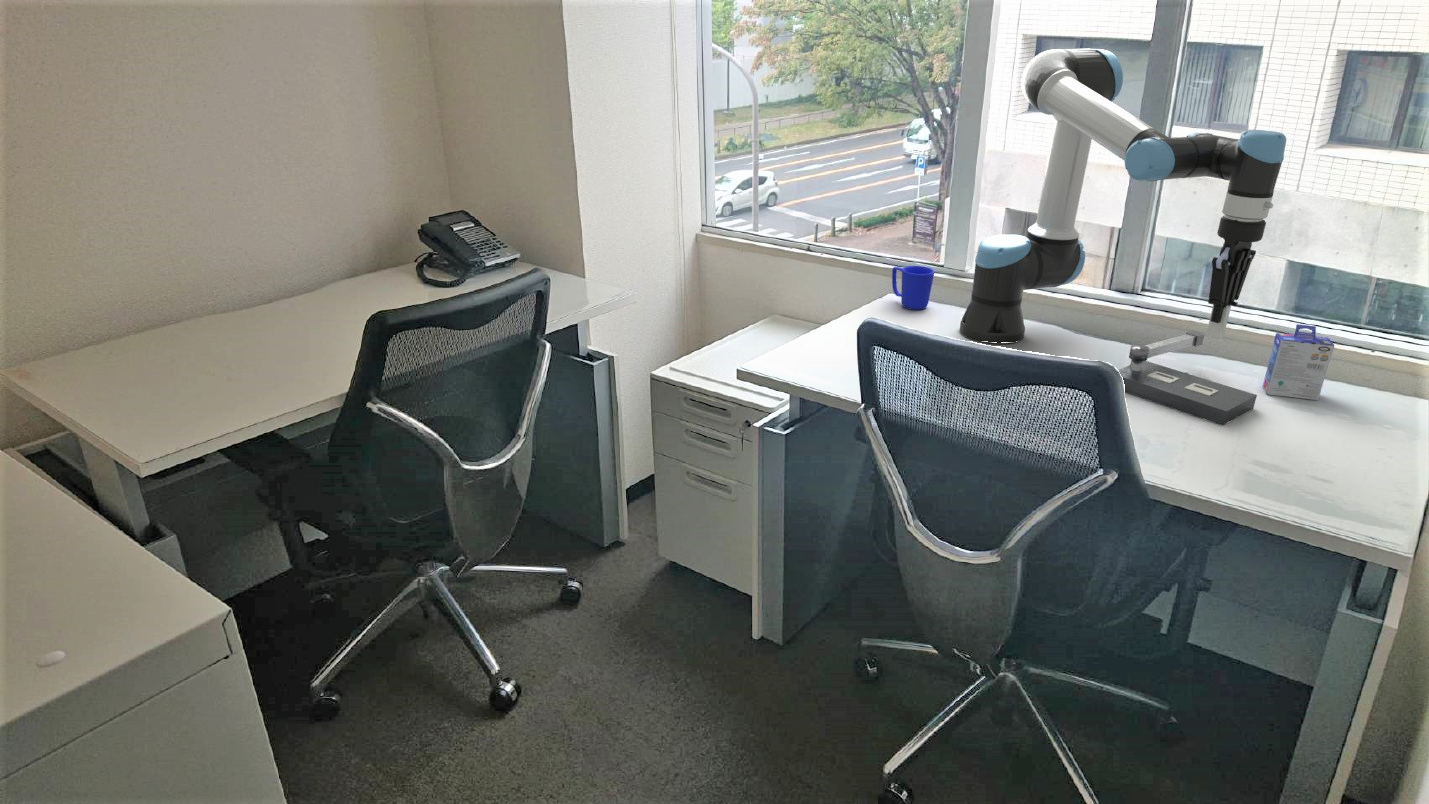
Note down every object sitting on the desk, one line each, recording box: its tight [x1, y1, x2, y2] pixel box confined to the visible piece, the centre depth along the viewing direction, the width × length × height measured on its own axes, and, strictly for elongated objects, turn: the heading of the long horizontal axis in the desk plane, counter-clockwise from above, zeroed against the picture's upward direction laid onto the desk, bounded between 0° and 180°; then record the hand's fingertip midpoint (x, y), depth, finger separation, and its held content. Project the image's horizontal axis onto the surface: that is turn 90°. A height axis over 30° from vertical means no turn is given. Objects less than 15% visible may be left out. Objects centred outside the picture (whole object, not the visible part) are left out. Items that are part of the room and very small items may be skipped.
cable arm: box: [1128, 330, 1206, 361], centre depth 199 cm, size 22×4×3 cm, turn 121°
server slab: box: [1118, 359, 1258, 426], centre depth 189 cm, size 24×13×5 cm, turn 38°
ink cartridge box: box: [1262, 323, 1335, 401], centre depth 190 cm, size 10×6×14 cm, turn 72°
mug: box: [891, 265, 935, 311], centre depth 242 cm, size 8×12×10 cm
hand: (1214, 336), depth 181 cm, fingers closed
